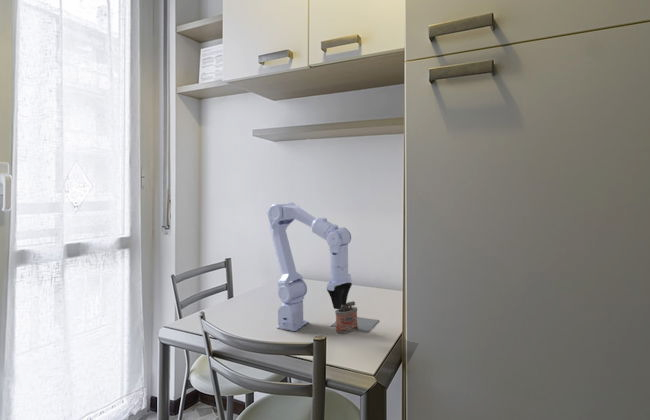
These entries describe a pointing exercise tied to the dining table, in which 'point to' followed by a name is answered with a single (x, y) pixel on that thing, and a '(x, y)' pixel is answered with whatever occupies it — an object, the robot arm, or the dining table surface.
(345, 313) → the lighter
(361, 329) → the mat
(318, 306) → the dining table surface
